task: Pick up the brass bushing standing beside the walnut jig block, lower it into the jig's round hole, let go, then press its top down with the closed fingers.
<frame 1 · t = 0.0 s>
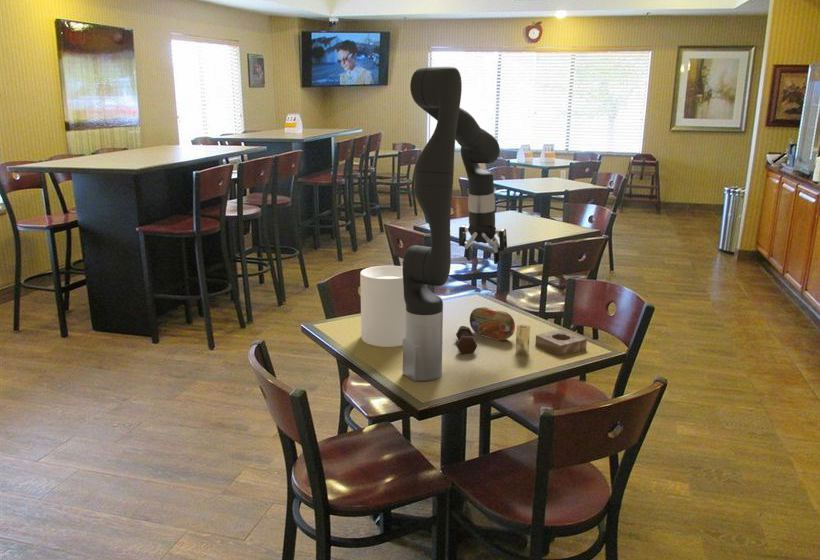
hand: (483, 261, 193), 22 cm above the table, tool pointing down, fingers open, 8 cm apart
canister: (388, 338, 195), on the table
dark brown lumpy piece: (465, 346, 189), on the table
jig: (560, 347, 188), on the table
tin: (491, 337, 197), on the table
bushing: (522, 354, 182), on the table
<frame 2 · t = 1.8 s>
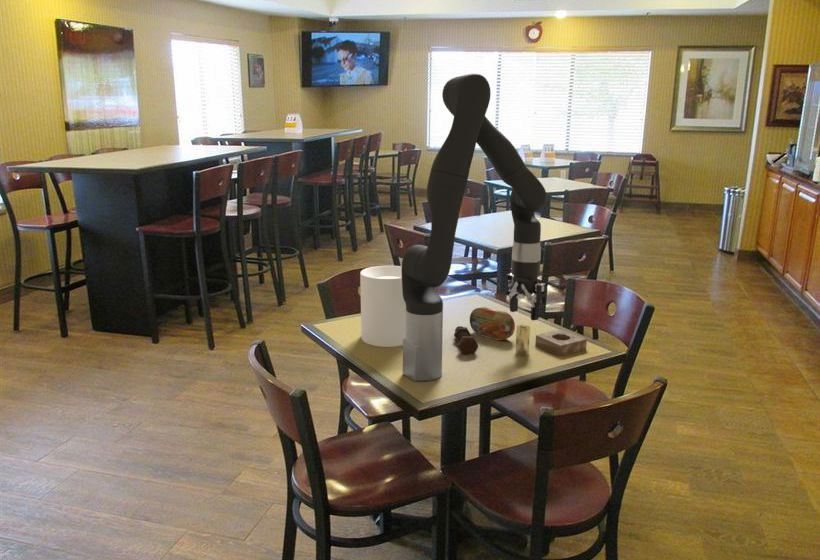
hand: (524, 315, 180), 11 cm above the table, tool pointing down, fingers open, 8 cm apart
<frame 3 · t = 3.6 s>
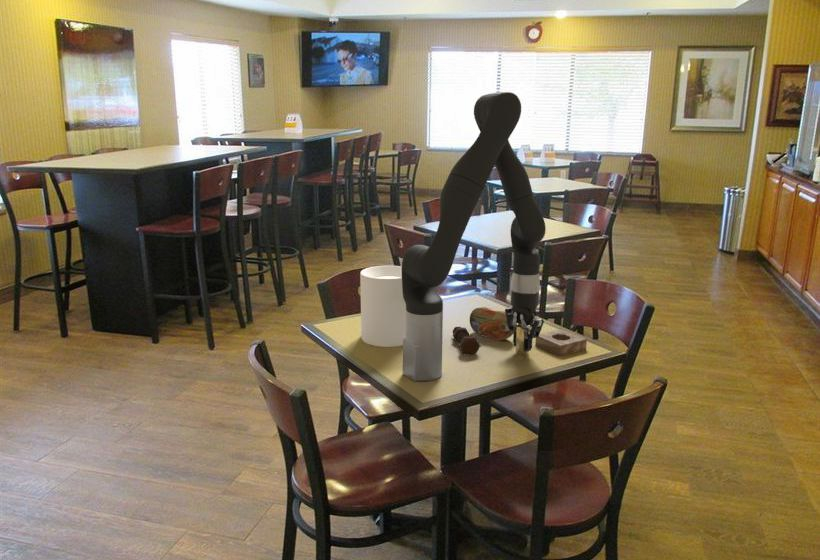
hand: (522, 348, 182), 2 cm above the table, tool pointing down, fingers closed on bushing, 3 cm apart
bushing: (521, 353, 182), on the table, touching gripper
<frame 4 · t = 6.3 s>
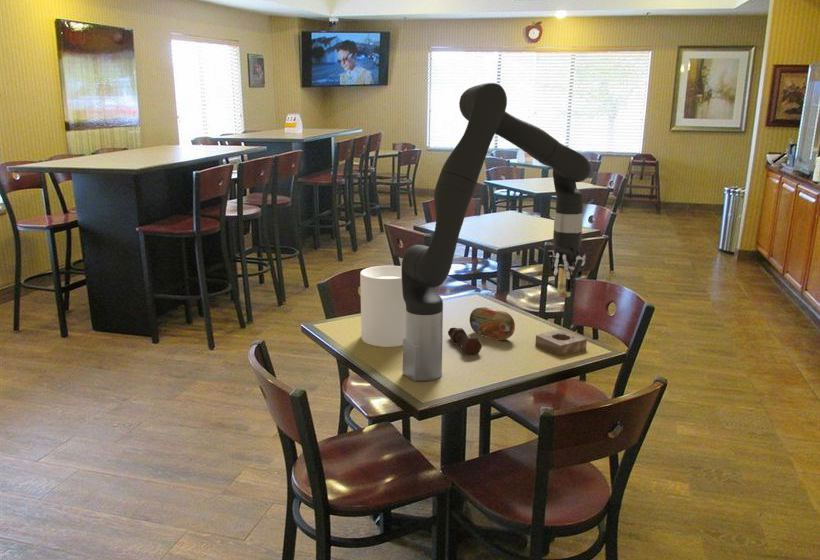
hand: (564, 289, 183), 17 cm above the table, tool pointing down, fingers closed on bushing, 3 cm apart
bushing: (563, 295, 184), point 15 cm above the table, touching gripper
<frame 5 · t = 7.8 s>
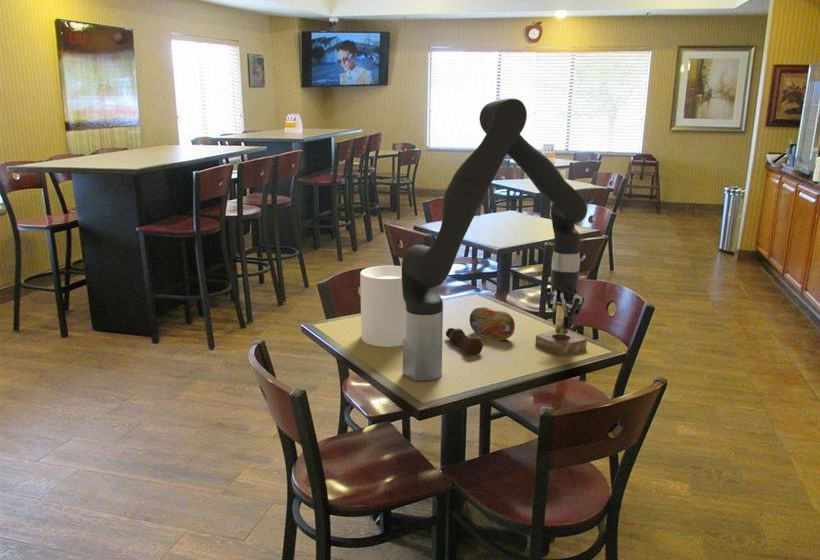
hand: (561, 326, 186), 6 cm above the table, tool pointing down, fingers closed on bushing, 3 cm apart
bushing: (561, 331, 187), point 4 cm above the table, touching gripper
when the fingers open (3 cm above the table, at t = 9.0 s): bushing drops 2 cm, resting in jig.
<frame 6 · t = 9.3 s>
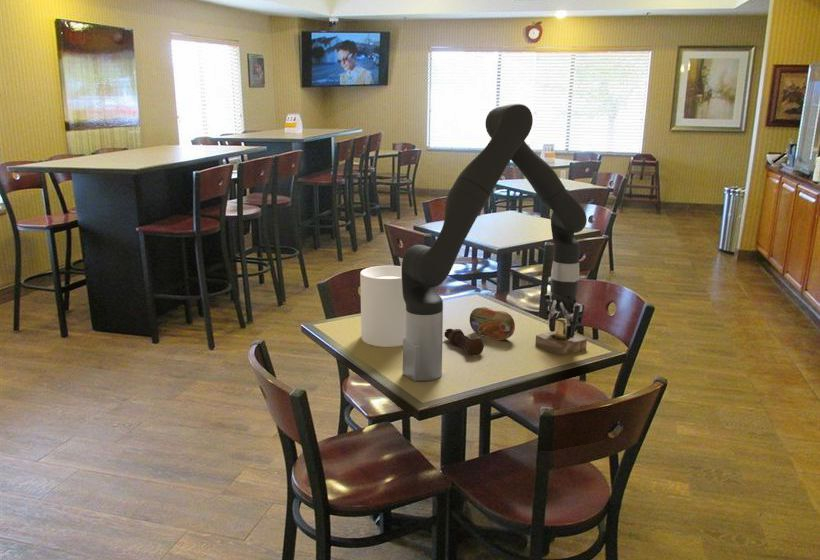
hand: (561, 334, 187), 4 cm above the table, tool pointing down, fingers open, 6 cm apart
bushing: (560, 347, 188), resting in jig
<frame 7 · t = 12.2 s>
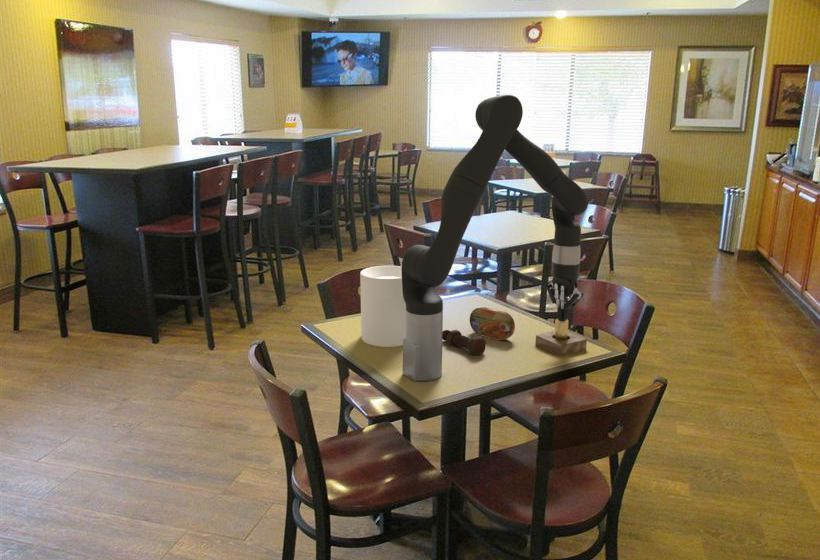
hand: (562, 320, 186), 8 cm above the table, tool pointing down, fingers closed
bushing: (560, 347, 188), resting in jig, touching gripper
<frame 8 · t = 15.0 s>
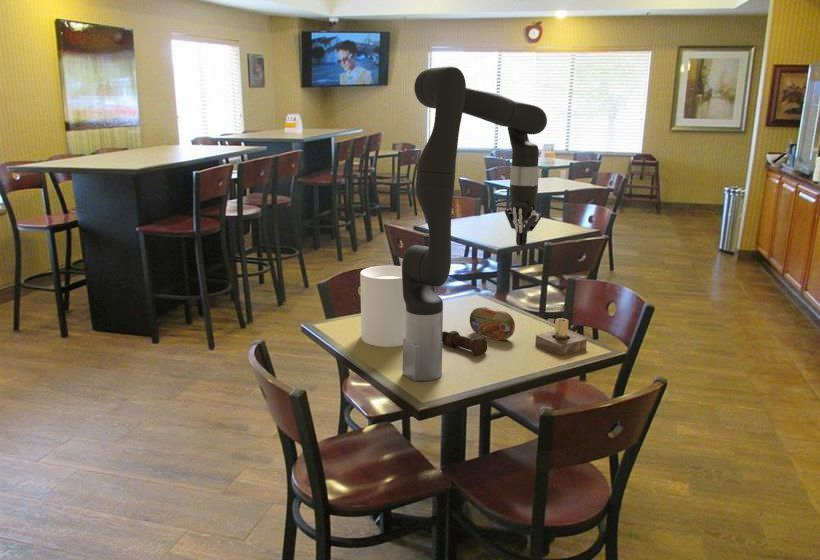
hand: (521, 245, 183), 29 cm above the table, tool pointing down, fingers closed
bushing: (560, 347, 188), resting in jig
at the end: bushing 0.1 cm off-centre on the jig, point 0.0 cm above the jig's base; bushing tilted 0°; the gripper is holding nothing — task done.
